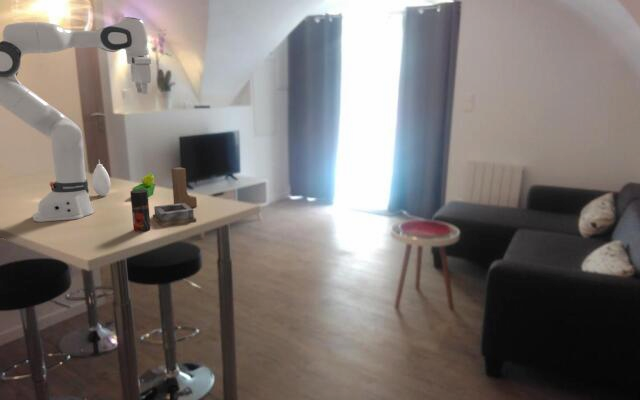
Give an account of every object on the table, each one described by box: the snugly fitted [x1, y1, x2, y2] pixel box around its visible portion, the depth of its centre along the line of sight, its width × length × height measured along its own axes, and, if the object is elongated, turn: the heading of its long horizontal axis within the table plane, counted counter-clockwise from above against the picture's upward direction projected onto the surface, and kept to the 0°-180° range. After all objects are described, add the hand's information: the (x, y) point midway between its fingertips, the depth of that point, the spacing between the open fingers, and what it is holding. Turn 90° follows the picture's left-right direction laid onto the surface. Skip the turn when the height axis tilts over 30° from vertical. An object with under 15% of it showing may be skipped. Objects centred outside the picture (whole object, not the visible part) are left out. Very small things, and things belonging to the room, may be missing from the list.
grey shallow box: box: [152, 203, 197, 227], centre depth 191 cm, size 14×14×5 cm
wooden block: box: [171, 166, 198, 209], centre depth 207 cm, size 9×4×18 cm, turn 134°
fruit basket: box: [131, 172, 156, 198], centre depth 227 cm, size 11×9×11 cm
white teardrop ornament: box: [91, 160, 111, 197], centre depth 226 cm, size 8×8×18 cm
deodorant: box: [129, 189, 151, 233], centre depth 176 cm, size 6×6×15 cm
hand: (142, 93), depth 199 cm, fingers open, 8 cm apart
